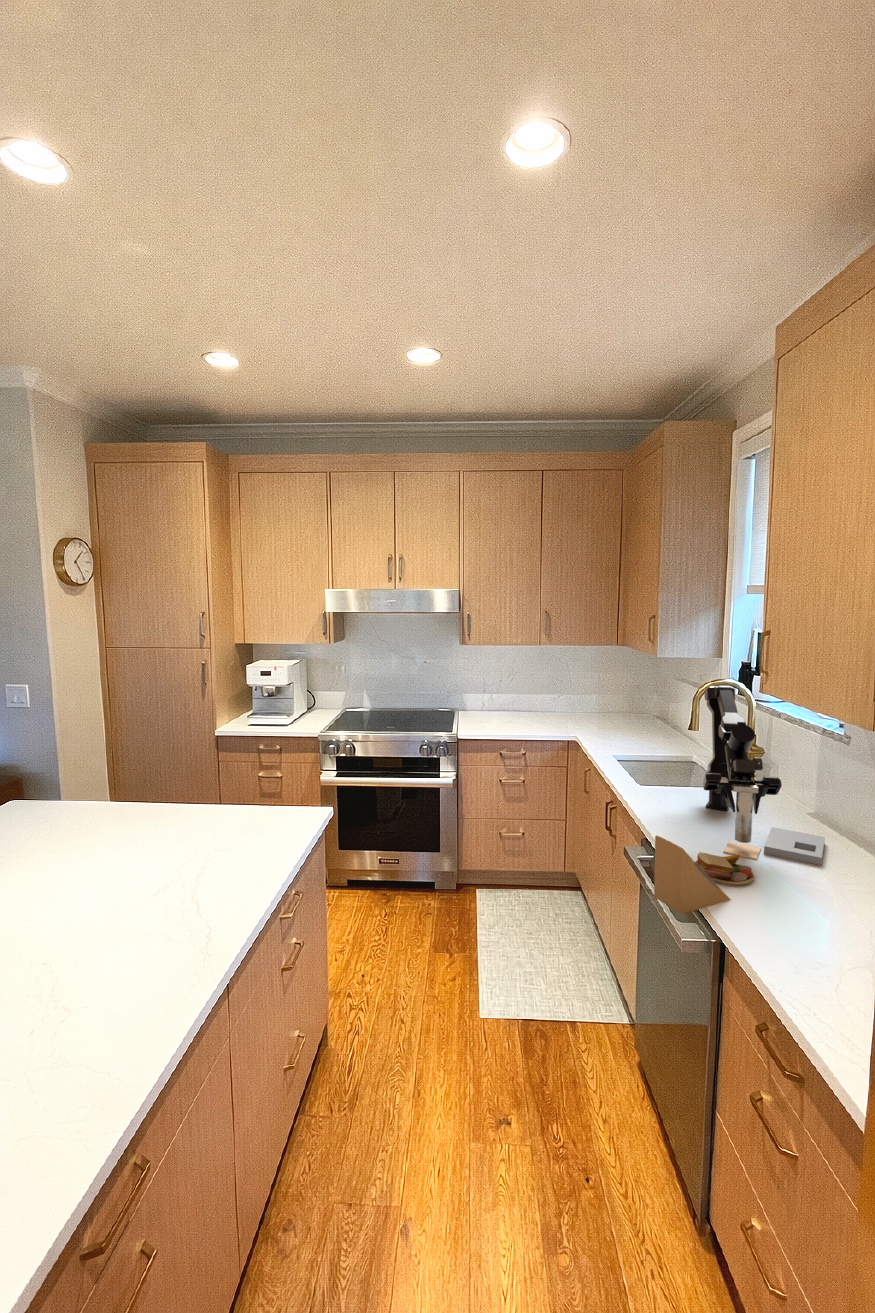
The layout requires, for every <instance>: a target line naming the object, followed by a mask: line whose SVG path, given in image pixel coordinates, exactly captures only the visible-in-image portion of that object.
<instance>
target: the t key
mask: <svg viewBox="0 0 875 1313" xmlns="http://www.w3.org/2000/svg"><path fill="white" fill-rule="evenodd" d="M732 790H733V791H732V793H733V792H734V793H736V796H735V801H736V802H735V819H734V822H735V823H734V840H735V841H736V842H737V843H741V844H749V843H751V842H752V834H753V833H752V832H753V830H752V829H753V812H754V806H753V793H758V787H757V786H754V785H739V784H732Z"/></svg>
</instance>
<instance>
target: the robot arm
mask: <svg viewBox="0 0 875 1313" xmlns="http://www.w3.org/2000/svg"><path fill="white" fill-rule="evenodd" d="M704 700H705V701H706V707H707V708H708V710H709V711H710V712H711V722H712V723H711V729H712V730H711V731H712V732H711V733H712V738H711V739H712V758H711V760H710V762H709V763H708V765H707V770H706V771H705V774H704V777H703V781H702V782H703V783H702V785H703V790H704V791H708V801H707V803H706V804H705V808H709V809H714V810H720V811H726V812H727V811H729V809H731V811H732V813H735V814H736V802H735V800H734V795H733V790H732V784H739V785H754V786H757V787H758V793H753V812H754V815H757V814H758V811H759V807H760V803H761V798H762V797H765V796H767V795H768V796H770V795H771V796H776V795H779V792H780V790H781V788H782V786H783V785H782V780H781V778H779V776H767V775H765V776H763V777H762V779H761V780H753V778H755V773H756V772H757V771H759V772H761V771H763V769H764V765H763V764H764V763H763V760H762V758H760V757H754V758H752V759H750V756H749V751H750V750H751V748H752V745H753V742H754V739H755V736H756V733H755V731H754V729H753V728H752V727H750V726H748V725H747V722H746V720H745V718H744V717H742V716H741V715H739V713H738V708H737V705H736V689H735V688H734V687H733V686H731V685H717V686H710V685H709V686H708V687H707V688H705V690H704Z"/></svg>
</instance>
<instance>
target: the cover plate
mask: <svg viewBox="0 0 875 1313" xmlns="http://www.w3.org/2000/svg"><path fill="white" fill-rule="evenodd" d="M825 840H826V837H825V836H822V835H817V834H813V833H812V834H811V833H805V832H800V831H795V830H790V829H785V828H779V827H775V826H771V828H770V830H769V833H768V836H767V838H766V841H765V844H764V846H763V854H766V855H771V856H775V857H780V858H786V859H789V860H795V861H799V862H804V863H808V864H812V865H813V864H814V865H818V866H822V863H823V855H824V851H825V842H826V841H825Z"/></svg>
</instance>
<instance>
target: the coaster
mask: <svg viewBox="0 0 875 1313" xmlns="http://www.w3.org/2000/svg"><path fill="white" fill-rule="evenodd" d="M761 850H762V847H760V846H759V847H758V846H756V845H755V846H754V845H750V844H746V843H741V842H734V841H730V840H729V841H728V842H727V844H726V846H725V848H724V849H723V854H729V855H731V856H733V855H737V854H739V855H740V857H742V858H746V859H749V860H750V859H751V860H755V861H756V860H758V857H759V856H760V853H761Z"/></svg>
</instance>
